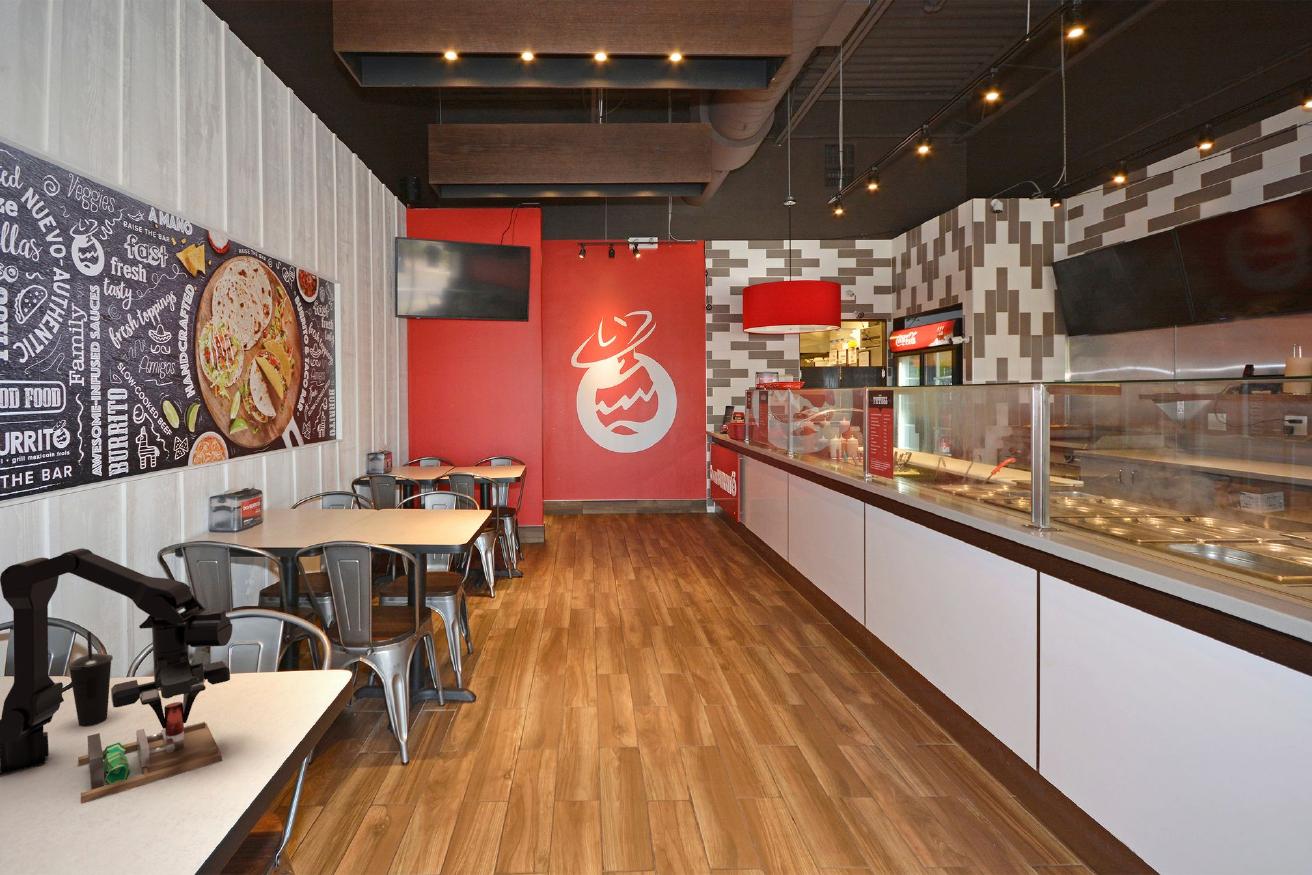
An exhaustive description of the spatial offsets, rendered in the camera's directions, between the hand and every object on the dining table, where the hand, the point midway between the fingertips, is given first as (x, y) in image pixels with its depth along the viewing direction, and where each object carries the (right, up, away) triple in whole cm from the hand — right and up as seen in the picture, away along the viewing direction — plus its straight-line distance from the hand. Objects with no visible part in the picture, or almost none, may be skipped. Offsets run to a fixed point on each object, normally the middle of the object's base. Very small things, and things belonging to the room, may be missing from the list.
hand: (174, 725), depth 134 cm
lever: (-1, -5, -1) cm, 5 cm away
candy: (-7, -7, -6) cm, 11 cm away
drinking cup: (-29, -6, +15) cm, 33 cm away
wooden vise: (-3, -6, -2) cm, 7 cm away
